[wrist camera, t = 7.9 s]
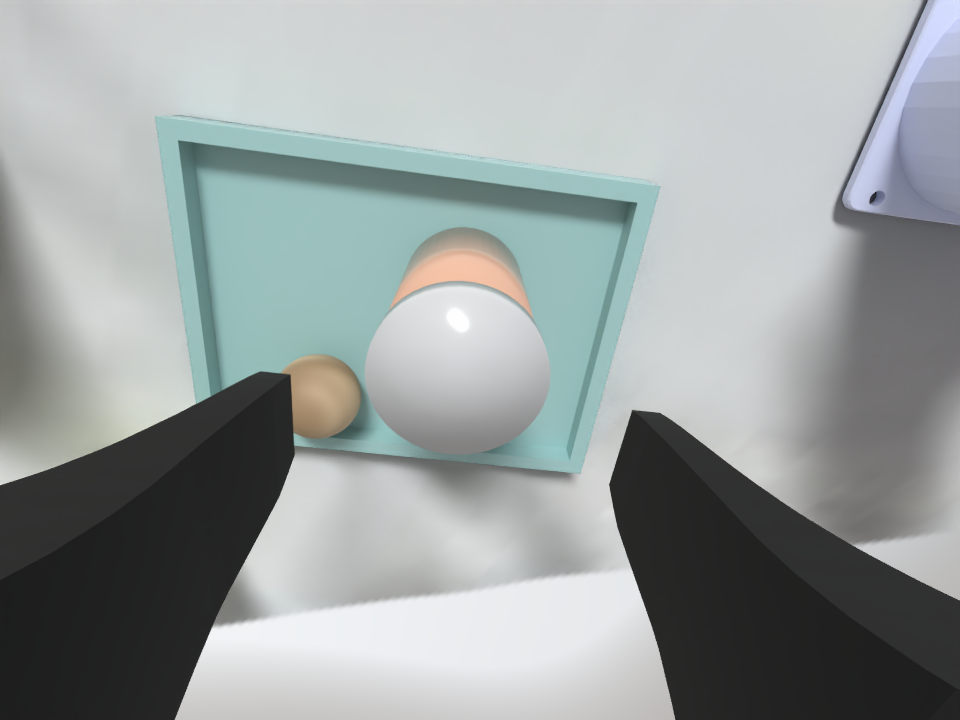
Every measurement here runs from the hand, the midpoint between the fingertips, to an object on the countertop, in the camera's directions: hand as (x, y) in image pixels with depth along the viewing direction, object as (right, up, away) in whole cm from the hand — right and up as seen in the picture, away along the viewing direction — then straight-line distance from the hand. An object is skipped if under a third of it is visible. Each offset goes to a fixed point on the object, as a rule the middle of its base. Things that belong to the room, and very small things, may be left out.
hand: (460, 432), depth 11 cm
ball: (-6, +1, +10) cm, 11 cm away
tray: (-2, +3, +9) cm, 10 cm away
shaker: (0, +4, +8) cm, 9 cm away
